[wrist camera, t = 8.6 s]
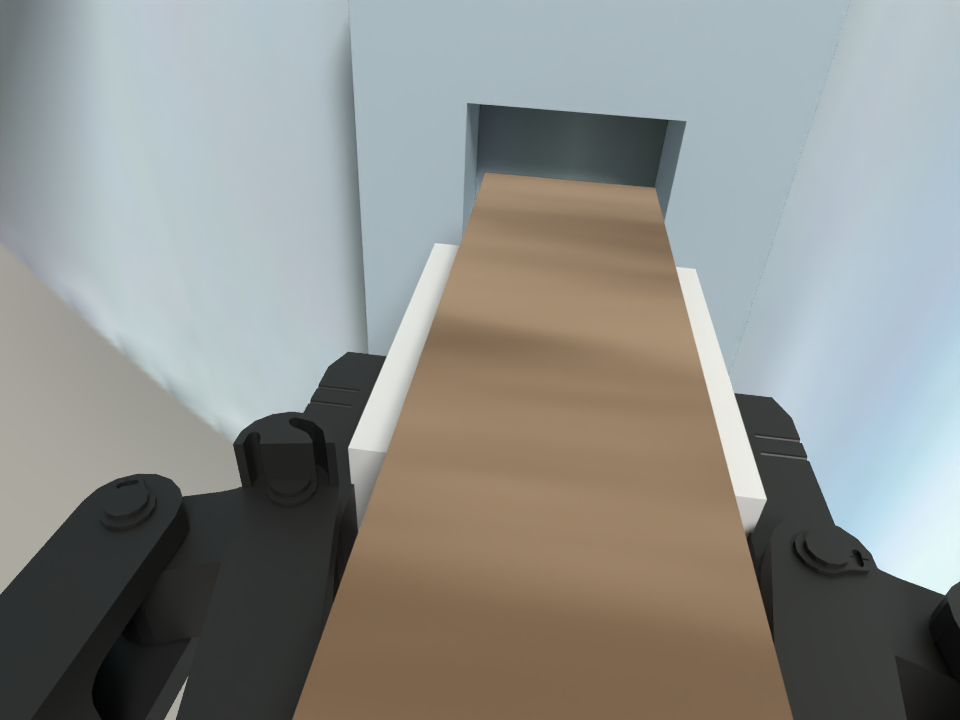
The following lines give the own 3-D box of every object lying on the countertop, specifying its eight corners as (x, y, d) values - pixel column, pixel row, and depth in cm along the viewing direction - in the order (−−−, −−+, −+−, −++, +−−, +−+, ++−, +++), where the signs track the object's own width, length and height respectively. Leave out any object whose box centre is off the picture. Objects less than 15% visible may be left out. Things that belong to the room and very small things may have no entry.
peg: (625, 331, 18) (705, 1104, 6) (477, 316, 18) (300, 1027, 7) (655, 187, 16) (862, 988, 4) (485, 172, 16) (236, 877, 4)
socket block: (706, 351, 25) (720, 401, 22) (389, 317, 26) (368, 361, 23) (815, -19, 18) (852, -5, 15) (376, -48, 19) (345, -40, 16)
